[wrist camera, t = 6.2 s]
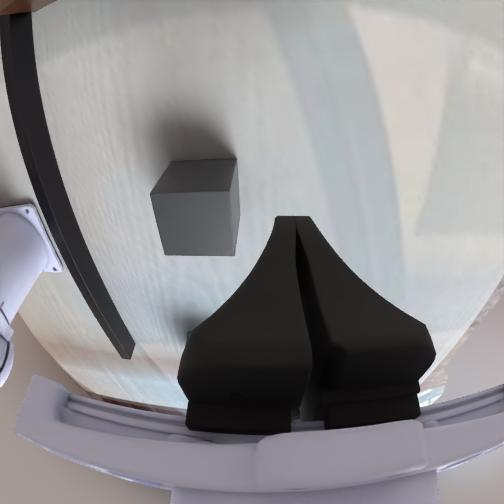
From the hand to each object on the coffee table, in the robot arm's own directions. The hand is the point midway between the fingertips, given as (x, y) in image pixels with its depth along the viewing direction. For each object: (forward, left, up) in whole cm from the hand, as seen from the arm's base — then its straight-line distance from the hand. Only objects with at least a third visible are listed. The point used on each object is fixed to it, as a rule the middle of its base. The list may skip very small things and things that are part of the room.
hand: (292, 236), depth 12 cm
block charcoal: (-5, -2, -8) cm, 10 cm away
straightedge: (-18, -3, -8) cm, 20 cm away
